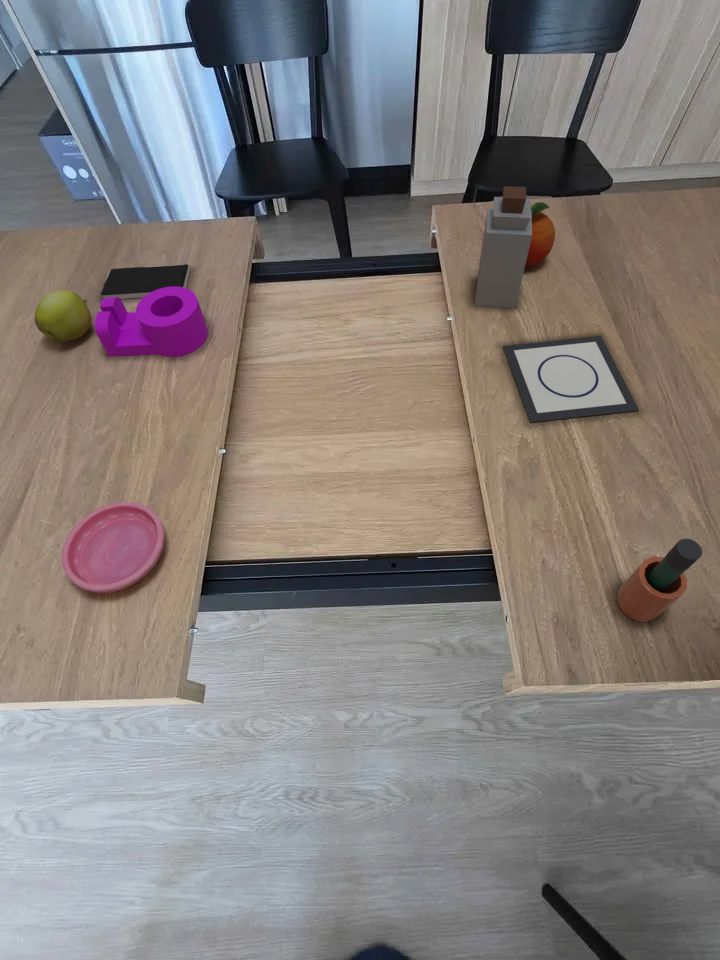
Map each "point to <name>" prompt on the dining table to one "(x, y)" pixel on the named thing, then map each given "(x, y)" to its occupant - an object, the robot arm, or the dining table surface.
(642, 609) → the pen pot
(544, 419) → the target board
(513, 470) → the dining table surface
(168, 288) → the tape dispenser
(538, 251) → the fruit
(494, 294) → the perfume bottle
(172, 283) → the smartphone
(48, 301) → the apple
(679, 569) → the marker
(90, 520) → the saucer
